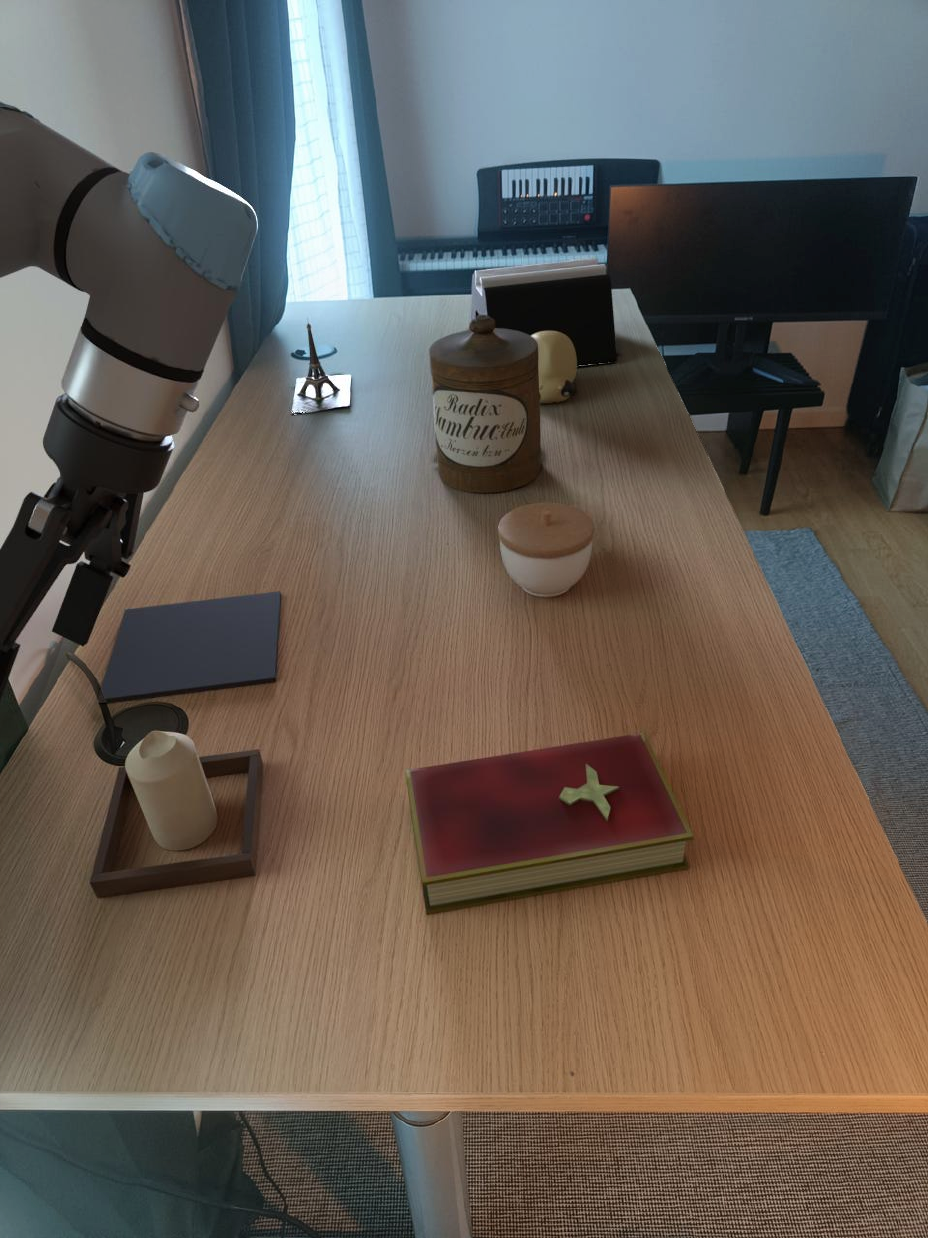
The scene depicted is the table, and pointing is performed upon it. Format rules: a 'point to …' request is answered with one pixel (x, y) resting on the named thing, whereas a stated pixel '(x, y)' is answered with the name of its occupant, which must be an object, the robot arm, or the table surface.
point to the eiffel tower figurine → (320, 386)
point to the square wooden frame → (187, 871)
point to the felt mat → (194, 647)
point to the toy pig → (555, 366)
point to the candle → (172, 790)
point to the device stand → (552, 303)
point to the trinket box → (546, 546)
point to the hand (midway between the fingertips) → (24, 673)
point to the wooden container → (486, 407)
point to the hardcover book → (544, 822)
